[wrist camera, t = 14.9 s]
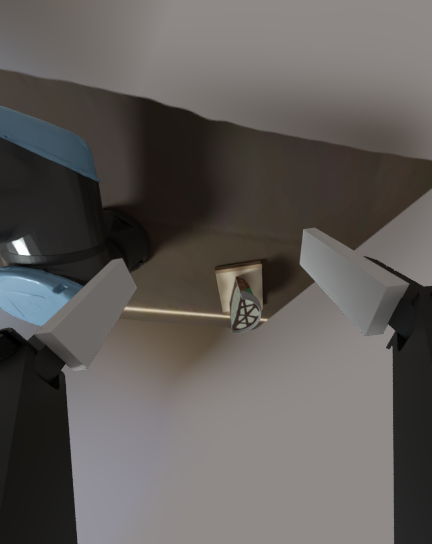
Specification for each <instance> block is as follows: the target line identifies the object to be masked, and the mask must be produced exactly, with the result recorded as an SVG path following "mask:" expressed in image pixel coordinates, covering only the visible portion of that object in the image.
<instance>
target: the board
mask: <svg viewBox="0 0 432 544" xmlns="http://www.w3.org/2000/svg"><path fill="white" fill-rule="evenodd" d="M215 272H216V277H217V283H218V288H219V293H220V298H221V304H222V309H223V314H224V315H225V314H230V306H229V302H230V297H231V293H232V289H233V284H234V280H235V277H239V278H242V279H244V280H245V281H246V282H247V283H248V284H249V286H250V289H251V291H252V293H253V295H254V296H256V297H257V298H258V300H259V301H260V304H261V310H263V298H262V263H261V261H253V262H247V263H240V264H233V265H227V266H220V267H215Z"/></svg>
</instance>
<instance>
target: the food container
mask: <svg viewBox="0 0 432 544" xmlns="http://www.w3.org/2000/svg"><path fill="white" fill-rule="evenodd" d="M229 306H230V317H231V327H232V328H231V331H232V333H243V332H246V331H248V330H250V329H252V328H253V327H255V326H256V325H257V323H258V322H259V320H260V317H261V304H260V301H259V300H258V298H257V297H256V296H254V295H253V293H252V291H251V289H250V286H249V284H248V283H247V282H246V281H245V280H244V279H242V278H239V277H235V280H234V284H233V289H232V293H231V297H230V302H229Z"/></svg>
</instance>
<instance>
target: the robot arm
mask: <svg viewBox="0 0 432 544" xmlns="http://www.w3.org/2000/svg"><path fill="white" fill-rule="evenodd" d="M99 182H100V180H99V178H98V177H97V173H96V169H95V165H94V160H93V155H92V152H91V149H90V148H89V146H88V145H87V143H86V142H85V141H84V140H83V139H82V138H81V137H79V136H78V135H76V134H74V133H72V132H70V131H68V130H66V129H63V128H61V127H58V126H56V125H53V124H51V123H48V122H45V121H43V120H40V119H37V118H35V117H32V116H29V115H26V114H23V113H21V112H18V111H15V110H12V109H9V108H6V107H3V106H0V257H1V259H2V261H3V263H4V267H0V308H1V309H3V310H5V311H6V312H8V313H9V314H11V315H13V316H15V317H17V318H19V319H22V320H25V321H27V322H30V323H33V324H36V325H39V326H42V327H41V328H40V329H39V330H38V331H37V332H36V333H35V334H34V335H33V336H32V337H31V338H30V339H29V340H28V341H27V340H25V339H24V338H23V337H22V336H21V335H20V334H18V333H17V332H16V331H15V330H14V329H13V328H5V329H1V330H0V544H77V532H76V518H75V505H74V491H73V478H72V464H71V450H70V437H69V423H68V409H67V396H66V382H65V375H64V373H63V372H62V371H61V369H62V368H63V367H64V365H65V364H66V365H67V366H68V367H70V368H71V369H72V370H73V371H75V370H83V369H88V367H89V366H90V364H91V363H92V361H93V359H94V358H95V356H96V354H97V353H98V351H99V349H100V348H101V346H102V344H103V343H104V341H105V340H106V338H107V336H108V335H109V333H110V331H111V330H112V328H113V326H114V325H115V323H116V321H117V320H118V318H119V317H120V315H121V313H122V312H123V310H124V308H125V307H126V305H127V303H128V302H129V300H130V298H131V297H132V295H133V294H134V292H135V290H136V289H137V287H136V285H135V283H134V281H133V279H132V277H131V275H130V273H131V272H133V271H135V270H137V269H139V268H140V267H141V266H142V265H143V264H144V263H145V261H146V260H147V258H148V256H149V253H150V242H149V238H148V236H147V234H146V232H145V230H144V229H143V227H142V226H141V225H140V224H139V223H138V222H137V221H136V220H135V219H133V218H132V217H130V216H129V215H127V214H125V213H122V212H119V211H116V210H103V209H102V202H101V195H100V189H99ZM300 265H301V266H302V267H303V268H304V269H305V270H306V272H307V273H308V274H309V275H310V276H311V277H312V278H313V279H314V280H315V281H316V283H317V284H318V285H319V286H320V287H321V288H322V289H323V290H324V291H325V292H326V293H327V295H328V296H329V297H330V298H331V299H332V300H333V301H334V302H335V304H337V306H338V307H339V308H340V309H341V310H342V311H343V312H344V313H345V315H346V316H347V317H348V318H349V319H350V320H351V321H352V322H353V323H354V325H355V326H356V327H357V328H358V329H359V330H360V331H361V332H362V333H363V334H364V336H370V335H377V334H383V333H384V331H385V329H386V327H387V325H388V324H389V325H390V326H391V327H392V328H393V329H394V330H395V333H394V335H393V336H392V338H391V340H390V342H389V343H388V345H387V347H386V348H388V349H390V348H391V346H393V443H394V444H393V450H394V544H432V286H425V287H424V286H422V285H420V284H418V283H417V282H415V281H413V280H411V279H409V278H408V277H406V276H404V275H402V274H401V273H399V272H397V271H394V269H392V268H390V267H388V266H387V267H386V265H384V264H383V263H381V262H379V261H378V260H375V259H372V258H369V257H366V256H362V255H360V254H358V253H357V252H355V251H353V250H352V249H350V248H348V247H347V246H345V245H343V244H341V243H340V242H338V241H336V240H335V239H333V238H331V237H330V236H328V235H326V234H325V233H323V232H321V231H320V230H318V229H316V228H310V229H304V230H303V239H302V248H301V257H300Z"/></svg>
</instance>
